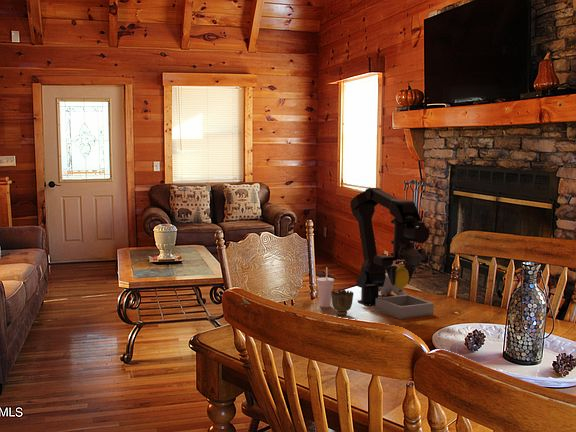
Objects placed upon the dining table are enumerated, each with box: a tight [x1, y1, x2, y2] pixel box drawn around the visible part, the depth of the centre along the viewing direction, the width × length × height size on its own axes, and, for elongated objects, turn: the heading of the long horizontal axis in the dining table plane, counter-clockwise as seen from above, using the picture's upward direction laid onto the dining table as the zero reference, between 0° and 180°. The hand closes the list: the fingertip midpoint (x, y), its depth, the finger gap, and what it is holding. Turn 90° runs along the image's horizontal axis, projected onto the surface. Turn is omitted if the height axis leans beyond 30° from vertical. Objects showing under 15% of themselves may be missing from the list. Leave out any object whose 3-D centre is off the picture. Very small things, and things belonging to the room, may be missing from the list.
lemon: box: [394, 265, 410, 289], centre depth 206 cm, size 6×6×8 cm
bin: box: [375, 294, 435, 320], centre depth 212 cm, size 14×14×4 cm
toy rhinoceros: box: [378, 272, 407, 296], centre depth 235 cm, size 7×12×8 cm, turn 50°
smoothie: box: [316, 267, 335, 308], centre depth 218 cm, size 6×6×14 cm
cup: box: [331, 289, 354, 317], centre depth 206 cm, size 8×7×8 cm
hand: (400, 284), depth 206 cm, fingers closed on lemon, 5 cm apart
